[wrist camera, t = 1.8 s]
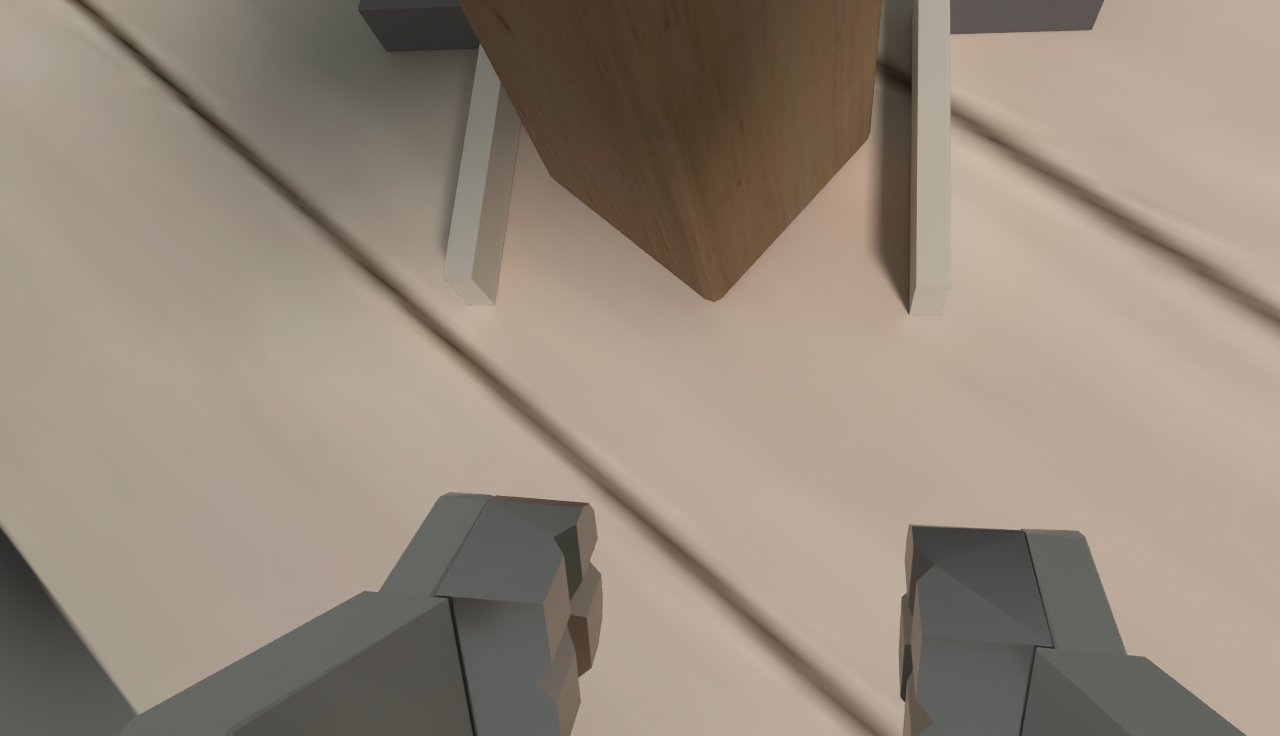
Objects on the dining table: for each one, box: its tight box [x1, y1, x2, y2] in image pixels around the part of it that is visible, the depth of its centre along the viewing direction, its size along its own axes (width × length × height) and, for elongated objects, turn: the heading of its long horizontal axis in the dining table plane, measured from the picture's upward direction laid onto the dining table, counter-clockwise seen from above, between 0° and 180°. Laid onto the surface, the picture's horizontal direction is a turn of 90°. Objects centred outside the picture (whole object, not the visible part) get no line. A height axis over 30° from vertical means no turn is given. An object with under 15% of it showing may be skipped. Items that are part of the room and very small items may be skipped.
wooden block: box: [458, 0, 882, 302], centre depth 33 cm, size 10×10×20 cm
